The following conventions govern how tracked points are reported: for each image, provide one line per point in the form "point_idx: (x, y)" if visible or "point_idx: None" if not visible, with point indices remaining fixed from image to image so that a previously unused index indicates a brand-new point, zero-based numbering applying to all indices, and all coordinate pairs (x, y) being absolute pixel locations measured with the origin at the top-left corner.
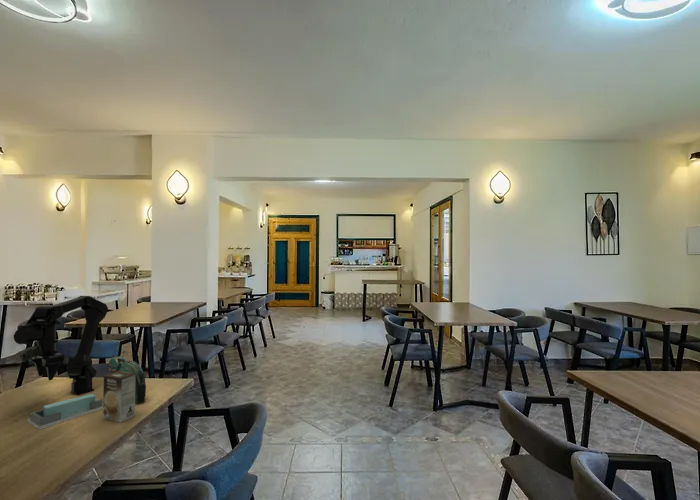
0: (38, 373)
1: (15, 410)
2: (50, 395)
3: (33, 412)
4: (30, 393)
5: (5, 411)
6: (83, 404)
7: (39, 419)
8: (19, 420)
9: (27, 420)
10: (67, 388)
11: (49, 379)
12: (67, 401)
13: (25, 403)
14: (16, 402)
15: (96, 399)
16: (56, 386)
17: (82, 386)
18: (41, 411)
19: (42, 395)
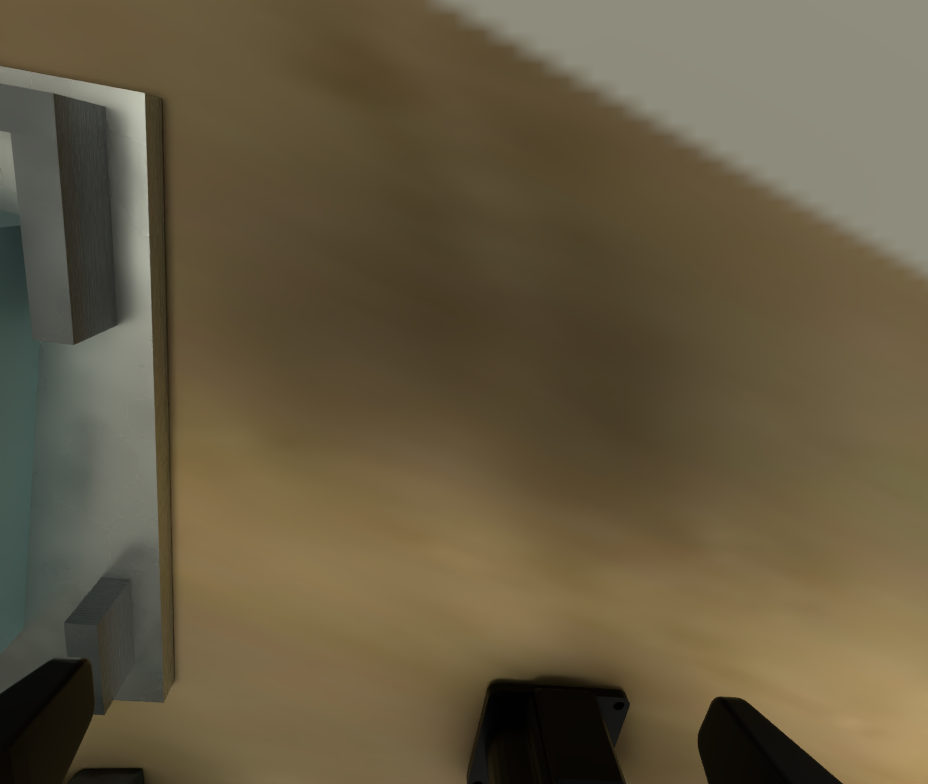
0: (773, 757)
1: (683, 246)
2: (736, 587)
3: (39, 130)
4: None
5: (766, 184)
6: None
7: None
8: (308, 91)
9: (137, 93)
10: None
11: (27, 679)
12: None
13: (776, 394)
14: (899, 371)
15: (120, 692)
16: (896, 702)
17: (503, 781)
18: (29, 219)
19: (814, 559)
